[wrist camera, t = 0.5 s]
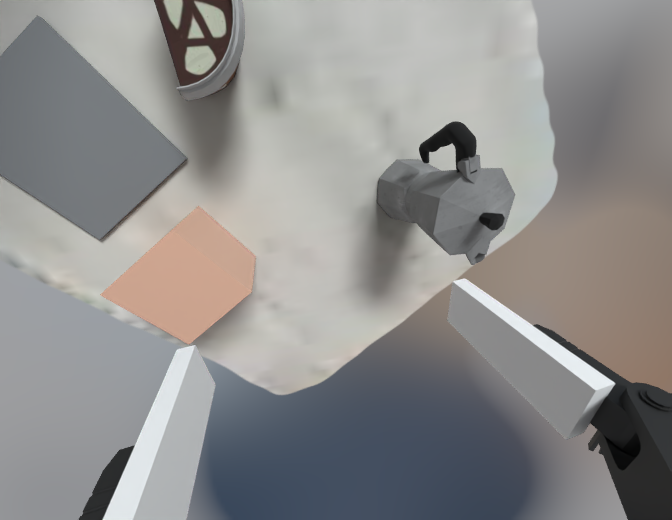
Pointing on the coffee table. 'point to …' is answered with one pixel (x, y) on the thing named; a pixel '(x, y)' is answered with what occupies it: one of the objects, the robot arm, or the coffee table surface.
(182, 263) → the salmon peach cube
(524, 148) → the coffee table surface
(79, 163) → the mat
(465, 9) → the coffee table surface
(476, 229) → the coffeepot
